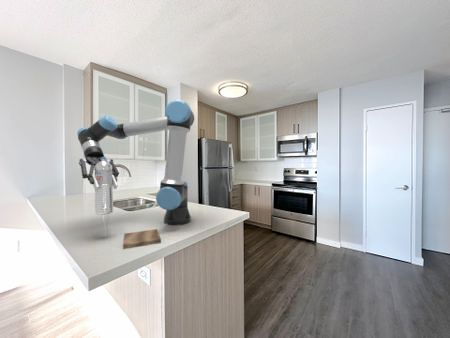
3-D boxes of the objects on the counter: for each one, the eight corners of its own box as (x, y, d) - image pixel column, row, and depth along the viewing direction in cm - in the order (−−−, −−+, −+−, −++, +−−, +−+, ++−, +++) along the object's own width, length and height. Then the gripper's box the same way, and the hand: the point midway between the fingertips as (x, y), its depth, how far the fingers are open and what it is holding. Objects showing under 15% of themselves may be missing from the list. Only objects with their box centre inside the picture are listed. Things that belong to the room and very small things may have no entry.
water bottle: (115, 213, 86) (114, 157, 85) (97, 216, 80) (96, 156, 80) (110, 210, 90) (109, 157, 90) (93, 213, 85) (92, 157, 84)
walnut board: (156, 232, 93) (156, 229, 93) (160, 242, 81) (160, 239, 81) (124, 236, 87) (124, 233, 87) (123, 248, 75) (123, 245, 75)
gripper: (113, 158, 102) (127, 191, 92) (66, 157, 87) (77, 196, 77) (117, 147, 99) (132, 180, 89) (68, 144, 83) (81, 184, 73)
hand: (106, 188), depth 83 cm, fingers closed on water bottle, 7 cm apart
